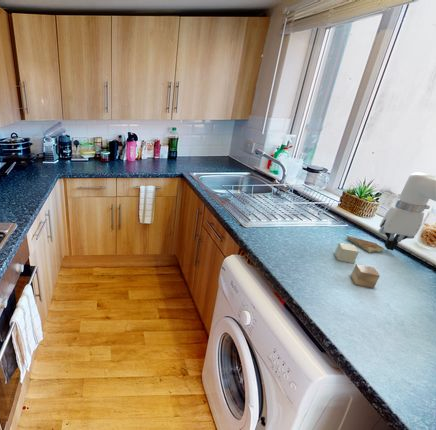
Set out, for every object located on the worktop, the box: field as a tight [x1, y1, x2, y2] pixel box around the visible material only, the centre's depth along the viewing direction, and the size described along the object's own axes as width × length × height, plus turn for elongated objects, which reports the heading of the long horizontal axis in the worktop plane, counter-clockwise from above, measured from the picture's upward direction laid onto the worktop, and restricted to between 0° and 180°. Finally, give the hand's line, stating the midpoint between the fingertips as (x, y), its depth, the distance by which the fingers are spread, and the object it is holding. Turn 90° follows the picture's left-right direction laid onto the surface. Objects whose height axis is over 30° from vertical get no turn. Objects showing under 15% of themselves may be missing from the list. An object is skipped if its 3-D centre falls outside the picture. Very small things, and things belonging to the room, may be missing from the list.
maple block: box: [350, 263, 381, 289], centre depth 95 cm, size 5×5×5 cm
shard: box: [346, 235, 385, 253], centre depth 118 cm, size 11×8×2 cm
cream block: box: [334, 242, 360, 264], centre depth 108 cm, size 5×5×5 cm
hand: (388, 248), depth 114 cm, fingers closed
